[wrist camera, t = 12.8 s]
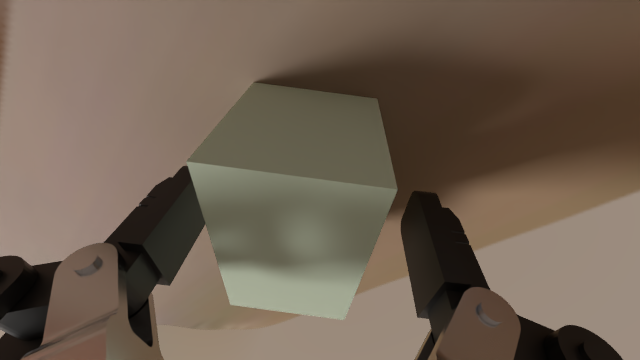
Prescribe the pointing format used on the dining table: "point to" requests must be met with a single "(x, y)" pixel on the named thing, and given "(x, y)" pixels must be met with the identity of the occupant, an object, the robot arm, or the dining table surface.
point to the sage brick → (295, 197)
